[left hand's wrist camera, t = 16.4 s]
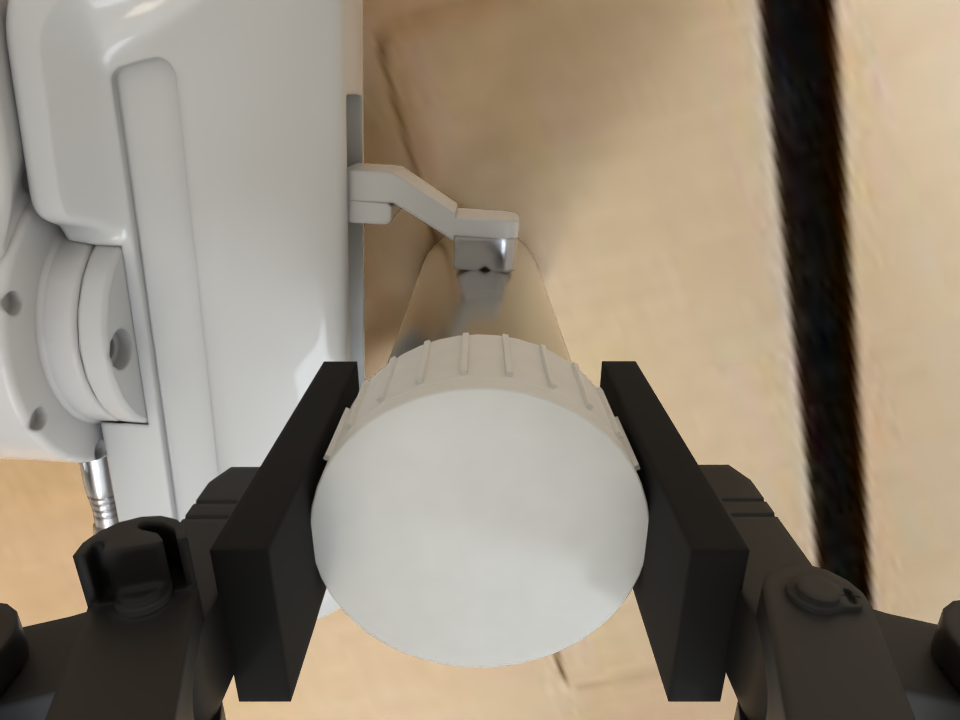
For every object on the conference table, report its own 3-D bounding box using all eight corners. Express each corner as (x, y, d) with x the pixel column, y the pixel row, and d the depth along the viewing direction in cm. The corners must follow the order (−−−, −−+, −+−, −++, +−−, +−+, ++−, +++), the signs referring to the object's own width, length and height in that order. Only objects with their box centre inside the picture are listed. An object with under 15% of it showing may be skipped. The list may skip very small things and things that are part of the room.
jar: (550, 329, 26) (636, 603, 12) (436, 353, 26) (383, 646, 12) (527, 212, 24) (596, 368, 10) (405, 240, 25) (303, 427, 10)
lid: (565, 281, 11) (586, 325, 9) (659, 527, 13) (696, 613, 11) (282, 396, 12) (238, 461, 10) (411, 611, 14) (399, 707, 12)
